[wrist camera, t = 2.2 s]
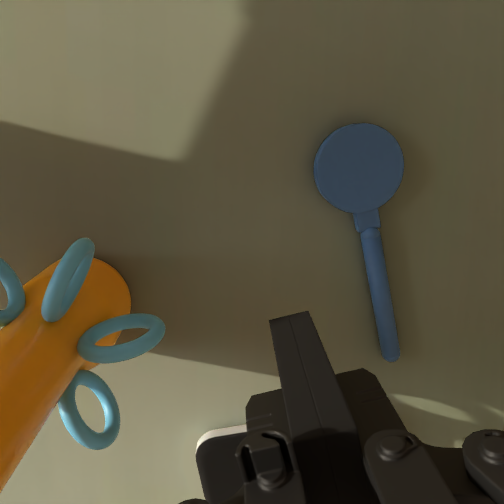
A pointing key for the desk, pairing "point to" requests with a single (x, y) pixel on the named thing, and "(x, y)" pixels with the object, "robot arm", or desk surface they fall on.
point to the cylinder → (63, 348)
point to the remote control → (220, 462)
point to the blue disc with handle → (365, 204)
